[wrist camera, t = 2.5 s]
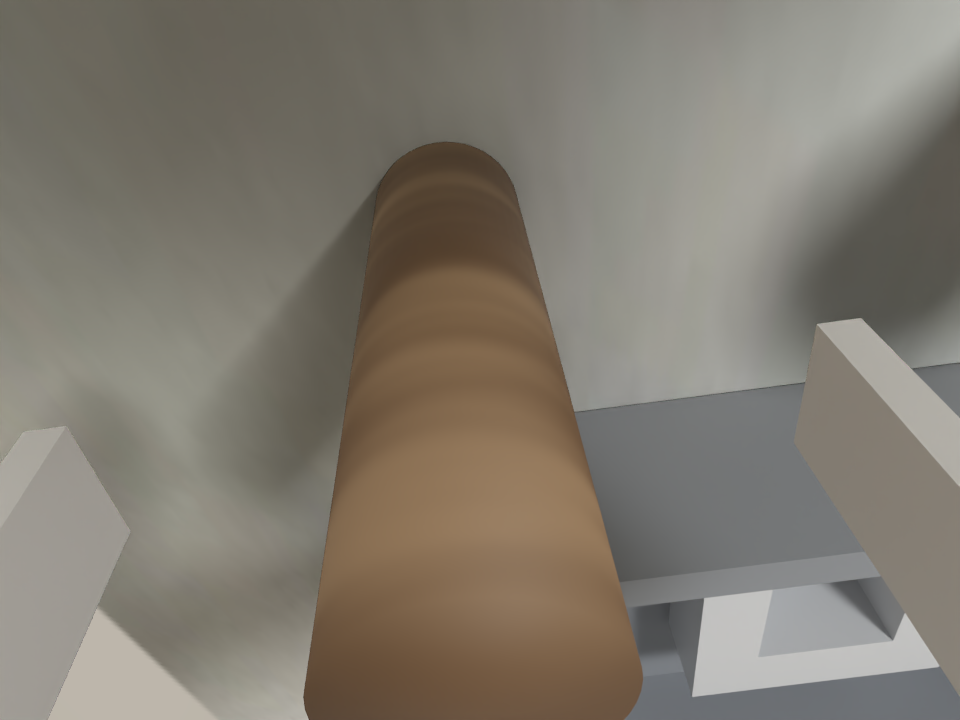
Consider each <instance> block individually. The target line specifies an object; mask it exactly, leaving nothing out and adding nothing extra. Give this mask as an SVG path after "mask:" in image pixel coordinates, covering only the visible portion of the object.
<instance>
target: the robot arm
mask: <svg viewBox="0 0 960 720" xmlns="http://www.w3.org/2000/svg"><path fill="white" fill-rule="evenodd" d="M794 444H795V445H796V447H797V448H798V450H799V451H800V453H801V455H802V456H803V458H804V459H805V461H806V462H807V464H808V465H809V467H810V468H811V470H812V471H813V473H814V474H815V476H816V477H817V479H818V481H819V482H820V484H821V485H822V487H823V488H824V490H825V491H826V493H827V494H828V496H829V497H830V499H831V500H832V502H833V503H834V505H835V507H836V508H837V510H838V511H839V513H840V514H841V516H842V517H843V519H844V520H845V522H846V523H847V525H848V526H849V528H850V529H851V531H852V533H853V534H854V536H855V537H856V539H857V540H858V542H859V543H860V545H861V546H862V548H863V549H864V551H865V552H866V554H867V555H868V557H869V559H870V560H871V562H872V563H873V565H874V566H875V568H876V569H877V571H878V572H879V574H880V575H881V577H882V578H883V580H884V581H885V583H886V585H887V586H888V588H889V589H890V591H891V592H892V594H893V595H894V597H895V598H896V600H897V601H898V603H899V604H900V606H901V607H902V609H903V611H904V612H905V614H906V615H907V617H908V618H909V620H910V621H911V623H912V624H913V626H914V627H915V629H916V630H917V632H918V633H919V635H920V637H921V638H922V640H923V641H924V643H925V644H926V646H927V647H928V649H929V650H930V652H931V653H932V655H933V656H934V658H935V660H936V661H937V663H938V664H939V666H940V667H941V669H942V670H943V672H944V673H945V675H946V676H947V678H948V679H949V681H950V682H951V684H952V686H953V687H954V689H955V690H956V692H957V693H958V695H959V696H960V418H959V417H958V416H957V415H956V414H955V413H954V412H953V411H952V410H951V409H950V408H949V407H948V406H947V405H946V403H945V402H944V401H943V400H942V399H941V398H940V397H939V396H938V395H937V394H936V393H935V392H934V391H933V390H932V389H931V388H930V387H929V386H928V385H927V384H926V383H925V382H924V381H923V380H922V379H921V378H920V377H919V376H918V375H917V374H916V373H915V372H914V371H913V370H912V369H911V368H910V367H909V366H908V365H907V364H906V363H905V362H904V361H903V360H902V359H901V358H900V357H899V356H898V355H897V354H896V353H895V352H894V351H893V350H892V349H891V348H890V347H889V346H888V345H887V344H886V343H885V342H884V341H883V340H882V339H881V338H880V337H879V336H878V335H877V334H876V333H875V332H874V331H873V330H872V329H871V328H870V327H869V326H868V325H867V324H866V323H865V321H864V320H863V319H862V318H857V319H849V320H842V321H835V322H827V323H820V324H817V325H816V330H815V335H814V340H813V345H812V351H811V356H810V361H809V366H808V371H807V376H806V381H805V386H804V392H803V397H802V402H801V407H800V412H799V417H798V422H797V428H796V433H795V438H794ZM130 532H131V531H130V529H129V528H128V526H127V524H126V523H125V521H124V520H123V518H122V516H121V515H120V513H119V511H118V510H117V508H116V506H115V505H114V503H113V501H112V500H111V498H110V497H109V495H108V493H107V492H106V490H105V488H104V487H103V485H102V483H101V482H100V480H99V478H98V477H97V475H96V474H95V472H94V470H93V469H92V467H91V465H90V464H89V462H88V460H87V459H86V457H85V455H84V454H83V452H82V451H81V449H80V447H79V446H78V444H77V442H76V441H75V439H74V437H73V436H72V434H71V432H70V431H69V429H68V428H67V426H61V427H54V428H46V429H39V430H32V431H24V432H23V433H22V434H21V435H20V437H19V438H18V440H17V441H16V442H15V444H14V445H13V447H12V448H11V449H10V451H9V452H8V454H7V455H6V456H5V458H4V459H3V461H2V462H1V464H0V720H47V719H48V717H49V715H50V713H51V711H52V708H53V706H54V704H55V702H56V699H57V697H58V695H59V693H60V690H61V688H62V686H63V683H64V681H65V679H66V677H67V674H68V672H69V670H70V668H71V665H72V663H73V661H74V659H75V656H76V654H77V652H78V649H79V647H80V645H81V643H82V640H83V638H84V636H85V634H86V631H87V629H88V627H89V624H90V622H91V620H92V618H93V615H94V613H95V611H96V609H97V606H98V604H99V602H100V600H101V597H102V595H103V593H104V591H105V588H106V586H107V584H108V581H109V579H110V577H111V575H112V572H113V570H114V568H115V566H116V563H117V561H118V559H119V557H120V554H121V552H122V550H123V547H124V545H125V543H126V541H127V538H128V536H129V534H130Z"/></svg>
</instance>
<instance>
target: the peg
mask: <svg viewBox="0 0 960 720" xmlns="http://www.w3.org/2000/svg"><path fill="white" fill-rule="evenodd" d="M642 683H643V672H642V665H641V662H640V658H639V654H638V650H637V647H636V643H635V639H634V635H633V632H632V628H631V624H630V620H629V617H628V613H627V609H626V605H625V602H624V598H623V594H622V590H621V586H620V583H619V579H618V575H617V571H616V568H615V564H614V560H613V556H612V553H611V549H610V545H609V541H608V538H607V534H606V530H605V526H604V523H603V519H602V515H601V511H600V508H599V504H598V500H597V496H596V492H595V489H594V485H593V481H592V477H591V474H590V470H589V466H588V462H587V459H586V455H585V451H584V447H583V444H582V440H581V436H580V432H579V429H578V425H577V421H576V417H575V414H574V410H573V406H572V402H571V398H570V395H569V391H568V387H567V383H566V380H565V376H564V372H563V368H562V365H561V361H560V357H559V353H558V350H557V346H556V342H555V338H554V335H553V331H552V327H551V323H550V320H549V316H548V312H547V308H546V304H545V301H544V297H543V293H542V289H541V286H540V282H539V278H538V274H537V271H536V267H535V263H534V259H533V256H532V252H531V248H530V244H529V241H528V237H527V233H526V229H525V226H524V222H523V218H522V214H521V210H520V207H519V203H518V199H517V195H516V192H515V189H514V186H513V184H512V181H511V179H510V177H509V176H508V174H507V173H506V171H505V170H504V169H503V168H502V166H501V165H500V164H499V163H498V162H497V161H496V160H494V159H493V158H492V157H491V156H489V155H488V154H486V153H485V152H483V151H481V150H479V149H477V148H475V147H472V146H469V145H466V144H461V143H454V142H439V143H432V144H428V145H424V146H421V147H419V148H416V149H414V150H412V151H410V152H408V153H407V154H405V155H404V156H402V157H401V158H400V159H399V160H398V161H397V162H395V163H394V164H393V166H392V167H391V168H390V169H389V170H388V172H387V173H386V175H385V176H384V178H383V180H382V182H381V184H380V187H379V190H378V193H377V198H376V205H375V211H374V218H373V225H372V232H371V239H370V245H369V252H368V259H367V266H366V273H365V280H364V286H363V293H362V300H361V307H360V314H359V320H358V327H357V334H356V341H355V348H354V355H353V361H352V368H351V375H350V382H349V389H348V395H347V402H346V409H345V416H344V423H343V430H342V436H341V443H340V450H339V457H338V464H337V470H336V477H335V484H334V491H333V498H332V505H331V511H330V518H329V525H328V532H327V539H326V545H325V552H324V559H323V566H322V573H321V580H320V586H319V593H318V600H317V607H316V614H315V620H314V627H313V634H312V641H311V648H310V654H309V661H308V668H307V675H306V682H305V689H304V697H303V698H304V706H305V711H306V713H307V716H308V718H309V720H624V719H625V718H626V717H627V716H628V715H629V714H630V712H631V711H632V709H633V708H634V706H635V704H636V703H637V700H638V698H639V696H640V693H641V689H642Z"/></svg>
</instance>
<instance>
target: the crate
mask: <svg viewBox="0 0 960 720" xmlns="http://www.w3.org/2000/svg"><path fill="white" fill-rule="evenodd" d="M912 370H913V371H914V372H915V373H916V374H917V375H918V376H919V377H920V378H921V379H922V380H923V381H924V382H925V383H926V384H927V385H928V386H929V387H930V388H931V389H932V390H933V391H934V392H935V393H936V394H937V395H938V396H939V397H940V398H941V399H942V400H943V401H944V402H945V403H946V405H947V406H948V407H949V408H950V409H951V410H952V411H953V412H954V413H955V414H956V415H957V416H958V417H959V418H960V363H955V364H947V365H940V366H932V367H924V368H916V369H912ZM804 386H805V383H800V384H792V385H785V386H777V387H769V388H761V389H754V390H746V391H738V392H730V393H723V394H715V395H707V396H699V397H692V398H684V399H676V400H668V401H661V402H653V403H645V404H637V405H630V406H622V407H614V408H606V409H599V410H591V411H583V412H575V413H574V414H575V417H576V421H577V425H578V429H579V432H580V436H581V440H582V444H583V447H584V451H585V455H586V459H587V462H588V466H589V470H590V474H591V477H592V481H593V485H594V489H595V492H596V496H597V500H598V504H599V508H600V511H601V515H602V519H603V523H604V526H605V530H606V534H607V538H608V541H609V545H610V549H611V553H612V556H613V560H614V564H615V568H616V571H617V575H618V579H619V583H620V586H621V590H622V594H623V598H624V602H625V605H626V609H627V613H628V617H629V620H630V624H631V628H632V632H633V635H634V639H635V643H636V647H637V650H638V654H639V658H640V662H641V665H642V672H643V683H642V689H641V693H640V696H639V698H638V700H637V703H636V704H635V706H634V708H633V709H632V711H631V712H630V714H629V715H628V716H627V717H626V718H625V719H624V720H960V696H959V695H958V693H957V692H956V690H955V689H954V687H953V686H952V684H951V682H950V681H949V679H948V678H947V676H946V675H945V673H944V672H943V670H942V669H941V667H940V666H939V664H938V663H937V661H936V660H935V658H934V656H933V655H932V653H931V652H930V650H929V649H928V647H927V646H926V644H925V643H924V641H923V640H922V638H921V637H920V635H919V633H918V632H917V630H916V629H915V627H914V626H913V624H912V623H911V621H910V620H909V618H908V617H907V615H906V614H905V612H904V611H903V609H902V607H901V606H900V604H899V603H898V601H897V600H896V598H895V597H894V595H893V594H892V592H891V591H890V589H889V588H888V586H887V585H886V583H885V581H884V580H883V578H882V577H881V575H880V574H879V572H878V571H877V569H876V568H875V566H874V565H873V563H872V562H871V560H870V559H869V557H868V555H867V554H866V552H865V551H864V549H863V548H862V546H861V545H860V543H859V542H858V540H857V539H856V537H855V536H854V534H853V533H852V531H851V529H850V528H849V526H848V525H847V523H846V522H845V520H844V519H843V517H842V516H841V514H840V513H839V511H838V510H837V508H836V507H835V505H834V503H833V502H832V500H831V499H830V497H829V496H828V494H827V493H826V491H825V490H824V488H823V487H822V485H821V484H820V482H819V481H818V479H817V477H816V476H815V474H814V473H813V471H812V470H811V468H810V467H809V465H808V464H807V462H806V461H805V459H804V458H803V456H802V455H801V453H800V451H799V450H798V448H797V447H796V445H795V444H794V438H795V433H796V428H797V422H798V417H799V412H800V407H801V402H802V397H803V392H804Z"/></svg>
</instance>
